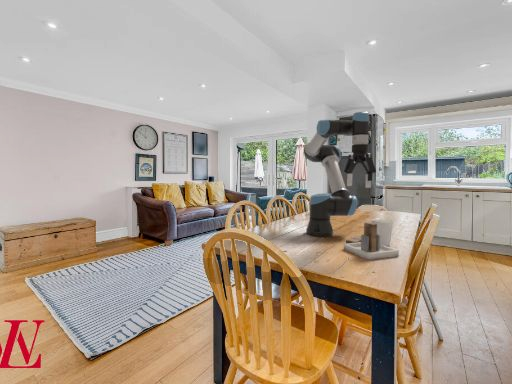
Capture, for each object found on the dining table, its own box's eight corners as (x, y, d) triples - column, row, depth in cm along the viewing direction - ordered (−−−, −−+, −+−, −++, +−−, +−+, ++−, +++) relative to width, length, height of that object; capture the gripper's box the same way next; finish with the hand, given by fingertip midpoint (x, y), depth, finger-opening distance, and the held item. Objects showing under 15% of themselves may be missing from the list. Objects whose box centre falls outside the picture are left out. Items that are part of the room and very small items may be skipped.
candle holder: (394, 246, 126) (395, 222, 125) (372, 245, 128) (373, 221, 127) (388, 241, 136) (389, 218, 135) (368, 240, 138) (369, 218, 137)
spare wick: (355, 247, 127) (355, 242, 127) (345, 245, 131) (345, 240, 131) (366, 242, 136) (366, 237, 135) (356, 240, 139) (357, 236, 139)
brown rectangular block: (363, 248, 119) (364, 222, 118) (367, 247, 120) (368, 222, 119) (371, 251, 115) (372, 224, 114) (376, 251, 115) (377, 224, 114)
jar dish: (343, 249, 122) (344, 232, 122) (371, 246, 128) (371, 229, 127) (368, 260, 107) (369, 240, 107) (398, 256, 112) (399, 237, 112)
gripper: (338, 146, 141) (337, 185, 143) (372, 141, 117) (370, 188, 119) (349, 146, 143) (348, 185, 145) (385, 142, 120) (383, 188, 122)
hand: (358, 186), depth 132 cm, fingers open, 13 cm apart
